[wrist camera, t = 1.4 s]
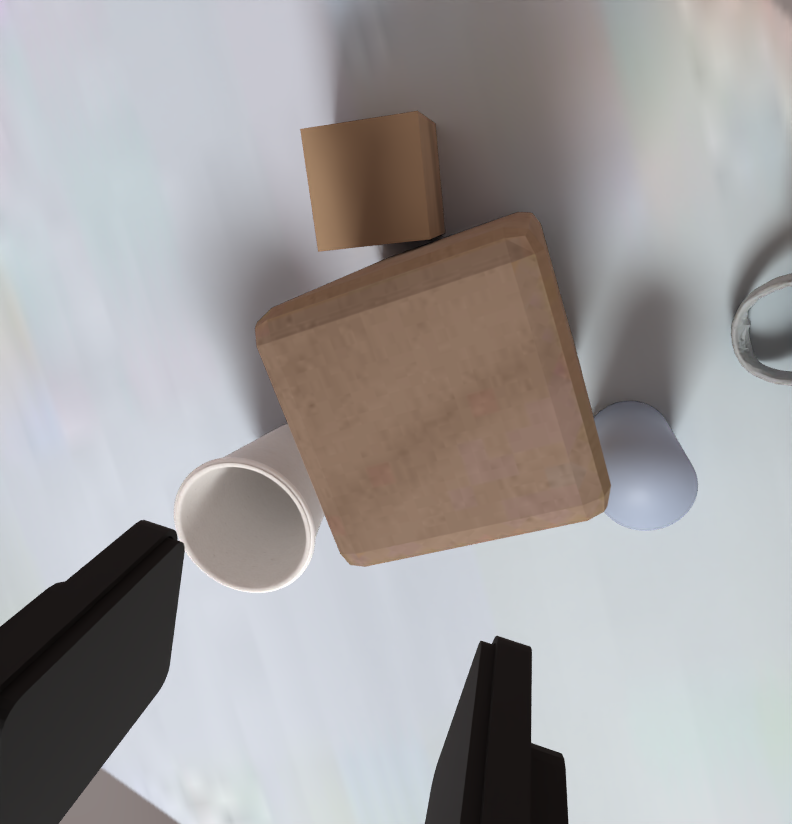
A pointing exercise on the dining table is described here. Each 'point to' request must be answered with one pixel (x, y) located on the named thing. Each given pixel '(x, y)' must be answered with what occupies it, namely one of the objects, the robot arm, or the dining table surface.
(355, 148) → the walnut cube
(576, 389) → the block
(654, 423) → the bluegrey post
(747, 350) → the ceramic mug
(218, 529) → the dixie cup
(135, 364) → the dining table surface
